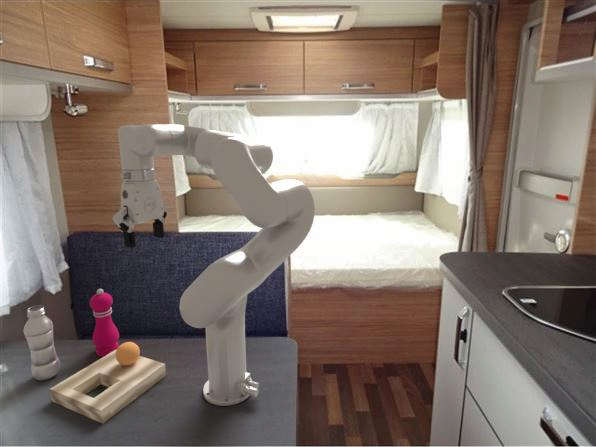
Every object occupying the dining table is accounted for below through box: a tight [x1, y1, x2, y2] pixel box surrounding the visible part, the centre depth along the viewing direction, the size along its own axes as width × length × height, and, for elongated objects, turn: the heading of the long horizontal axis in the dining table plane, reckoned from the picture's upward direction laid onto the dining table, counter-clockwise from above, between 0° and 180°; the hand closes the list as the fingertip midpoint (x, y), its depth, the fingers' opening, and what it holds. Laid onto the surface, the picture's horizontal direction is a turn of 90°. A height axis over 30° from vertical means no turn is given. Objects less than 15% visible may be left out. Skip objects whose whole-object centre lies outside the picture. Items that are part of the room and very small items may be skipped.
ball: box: [116, 341, 141, 365], centre depth 106 cm, size 6×6×6 cm
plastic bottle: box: [23, 304, 61, 381], centre depth 105 cm, size 6×7×20 cm
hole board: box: [49, 349, 167, 424], centre depth 102 cm, size 18×20×4 cm
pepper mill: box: [89, 288, 120, 357], centre depth 118 cm, size 7×7×20 cm
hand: (145, 241), depth 103 cm, fingers open, 9 cm apart
